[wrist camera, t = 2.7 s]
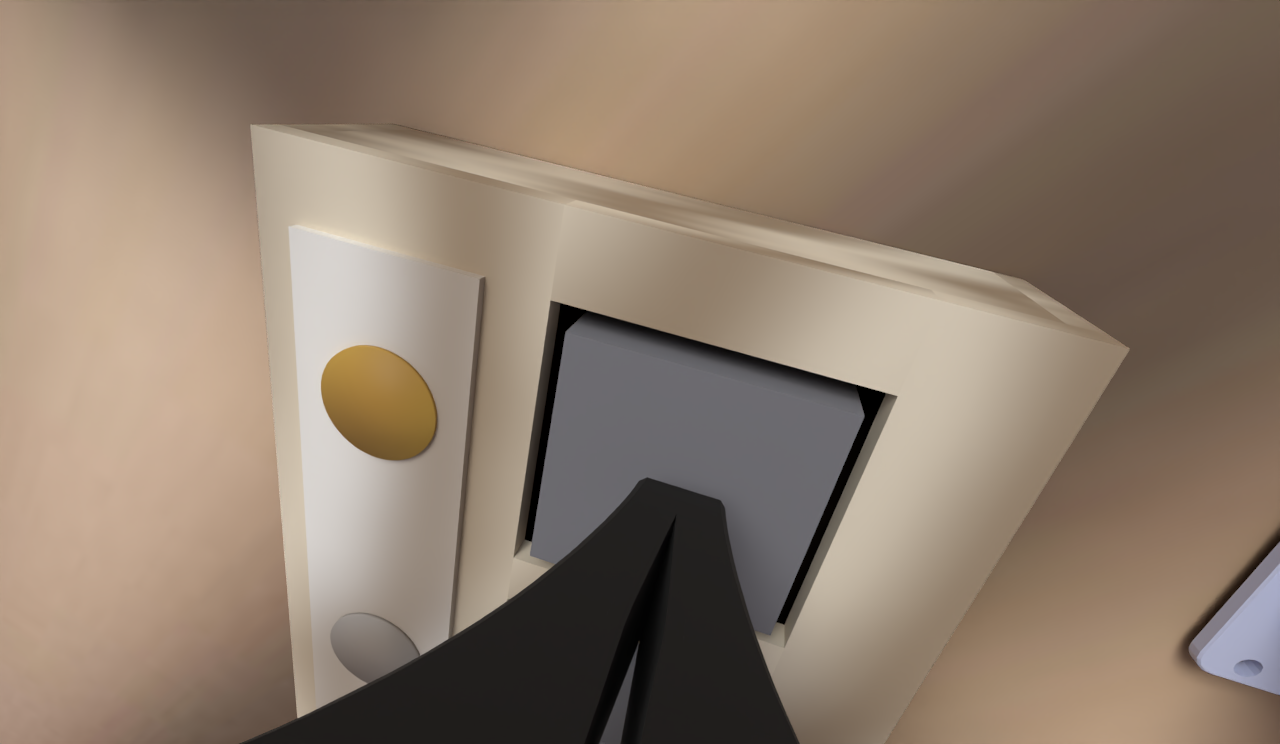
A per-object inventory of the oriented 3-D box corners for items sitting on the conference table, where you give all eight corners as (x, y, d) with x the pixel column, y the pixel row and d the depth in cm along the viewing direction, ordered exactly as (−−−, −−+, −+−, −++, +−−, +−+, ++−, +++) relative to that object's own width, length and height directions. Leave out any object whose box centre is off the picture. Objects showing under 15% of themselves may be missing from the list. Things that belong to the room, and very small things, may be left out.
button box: (1023, 279, 12) (1141, 356, 8) (723, 870, 22) (711, 1033, 18) (392, 124, 13) (234, 124, 9) (381, 739, 23) (301, 862, 19)
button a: (843, 341, 12) (864, 416, 9) (772, 523, 14) (770, 635, 11) (618, 280, 13) (565, 331, 10) (582, 465, 15) (530, 555, 12)
